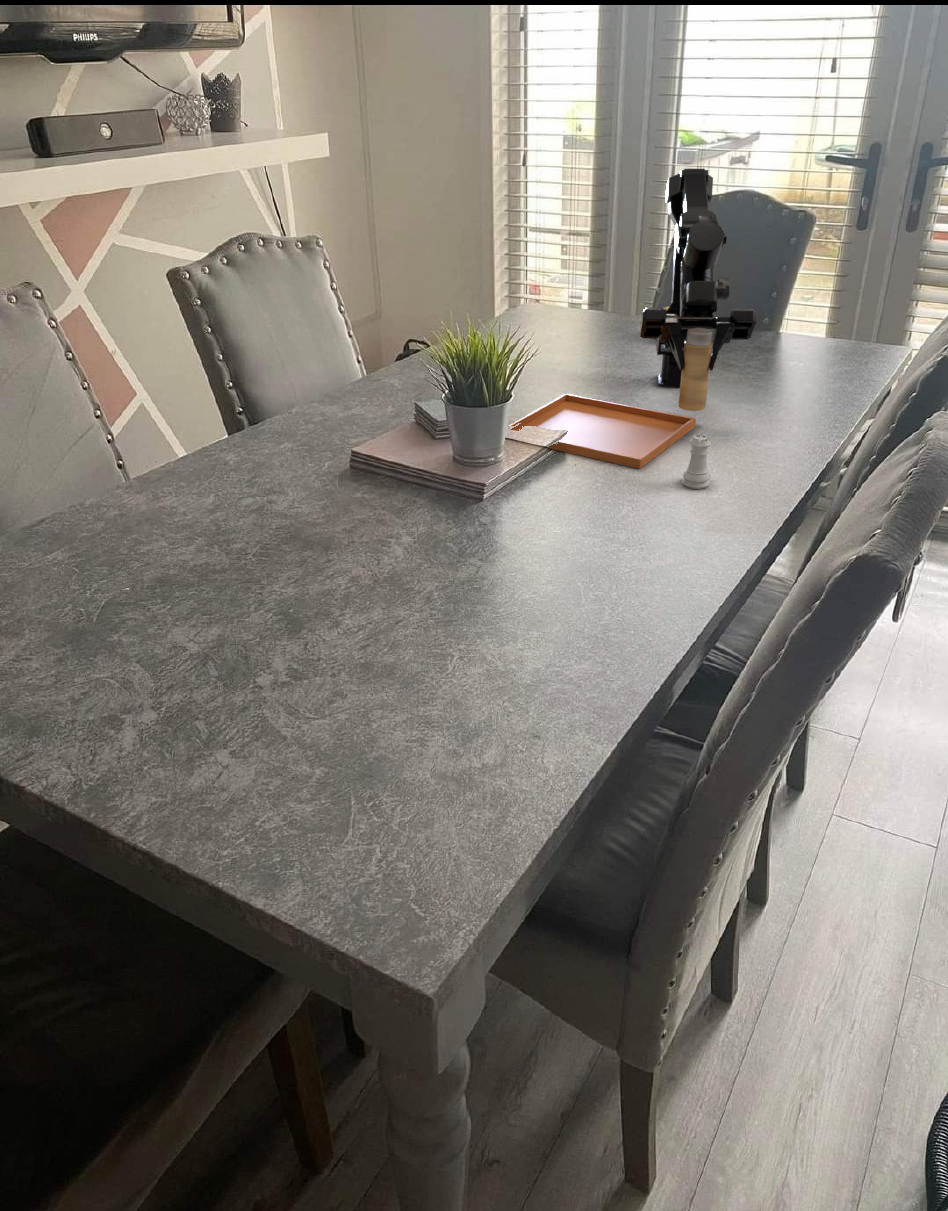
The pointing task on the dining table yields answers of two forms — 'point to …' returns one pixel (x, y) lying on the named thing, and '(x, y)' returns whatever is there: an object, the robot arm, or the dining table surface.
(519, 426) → the tray
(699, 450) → the rook chess piece
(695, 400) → the disc
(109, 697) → the dining table surface
